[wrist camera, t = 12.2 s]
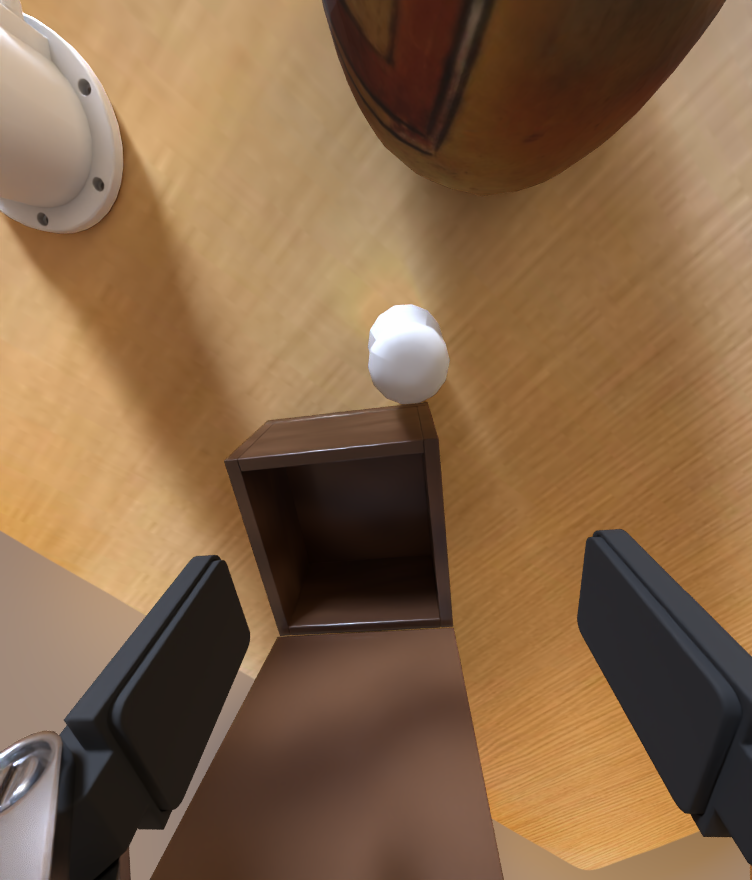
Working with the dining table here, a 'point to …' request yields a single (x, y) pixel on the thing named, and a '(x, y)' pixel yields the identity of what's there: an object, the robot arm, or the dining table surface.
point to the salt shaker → (407, 354)
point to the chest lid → (345, 770)
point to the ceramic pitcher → (507, 78)
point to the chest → (347, 520)
